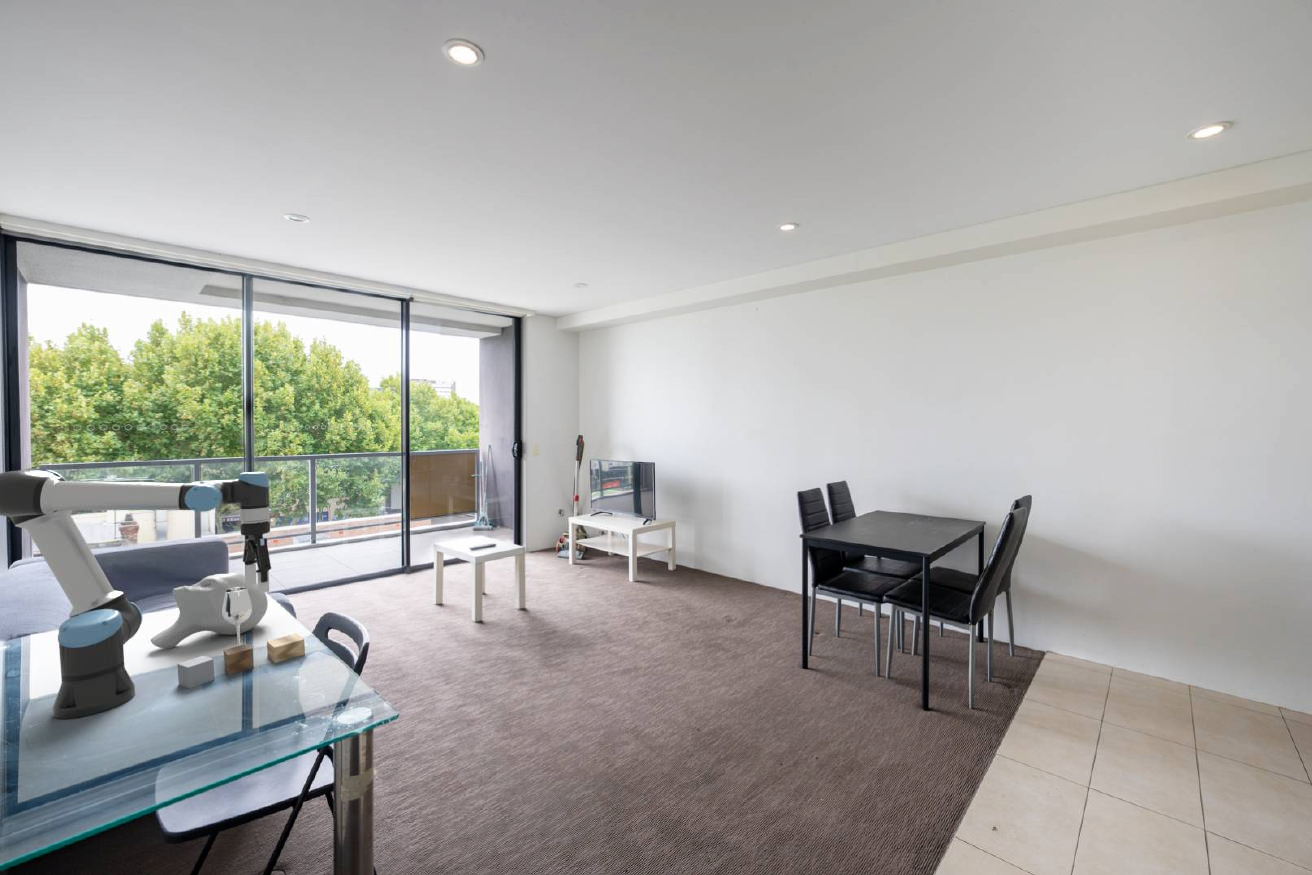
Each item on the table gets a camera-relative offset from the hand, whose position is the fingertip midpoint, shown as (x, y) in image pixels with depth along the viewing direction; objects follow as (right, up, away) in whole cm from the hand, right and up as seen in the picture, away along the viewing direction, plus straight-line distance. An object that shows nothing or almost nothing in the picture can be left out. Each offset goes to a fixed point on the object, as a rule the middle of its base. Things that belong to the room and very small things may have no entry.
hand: (257, 588), depth 174 cm
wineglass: (-9, -22, +5) cm, 24 cm away
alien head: (-28, -22, +18) cm, 40 cm away
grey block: (-5, -22, -17) cm, 28 cm away
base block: (+9, -21, 0) cm, 23 cm away
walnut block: (+1, -22, -9) cm, 23 cm away
